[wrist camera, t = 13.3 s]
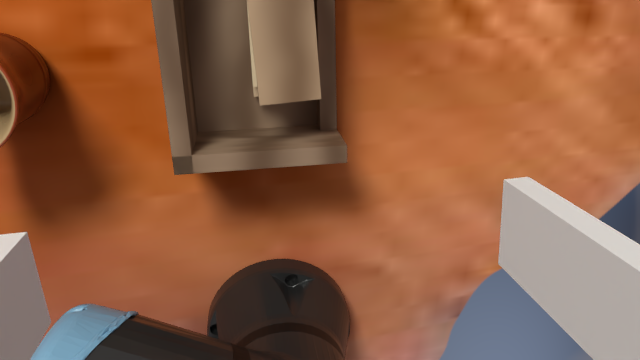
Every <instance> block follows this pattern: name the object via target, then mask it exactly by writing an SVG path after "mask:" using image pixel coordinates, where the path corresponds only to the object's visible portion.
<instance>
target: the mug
mask: <svg viewBox="0 0 640 360" xmlns="http://www.w3.org/2000/svg"><path fill="white" fill-rule="evenodd" d="M49 87H50V76H49V71H48V68H47V66H46V64H45V62H44V60H43V58H42V57H41V55H40V54H39V53H38V52H37V51H36V50H35V49H34V48H33V47H32V46H31V45H29V44H28V43H27V42H25V41H23V40H21V39H19V38H17V37H14V36H11V35H8V34H4V33H0V147H1V146H3V145H4V144H5V143H6V141H7V140H8V139H9V138H10V136H11V135H12V133H13V131H14V129H15V126H16V125H17V124H19V123H21V122H22V121H24V120H26V119H28V118H30V117H31V116H33V115H34V114H35V113H36V112H37V111H38V110H39V108H40V107H41V106H42V104H43V103H44V101H45V99H46V97H47V95H48V92H49Z"/></svg>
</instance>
